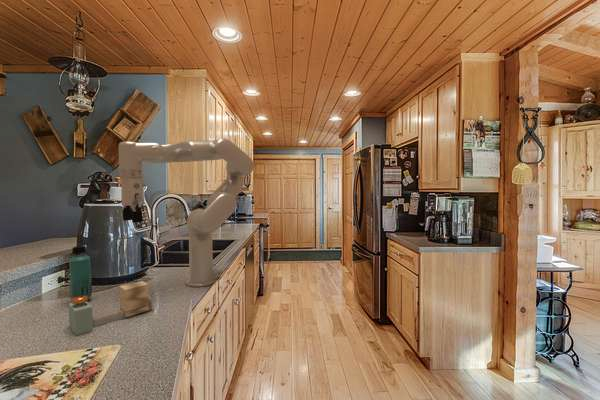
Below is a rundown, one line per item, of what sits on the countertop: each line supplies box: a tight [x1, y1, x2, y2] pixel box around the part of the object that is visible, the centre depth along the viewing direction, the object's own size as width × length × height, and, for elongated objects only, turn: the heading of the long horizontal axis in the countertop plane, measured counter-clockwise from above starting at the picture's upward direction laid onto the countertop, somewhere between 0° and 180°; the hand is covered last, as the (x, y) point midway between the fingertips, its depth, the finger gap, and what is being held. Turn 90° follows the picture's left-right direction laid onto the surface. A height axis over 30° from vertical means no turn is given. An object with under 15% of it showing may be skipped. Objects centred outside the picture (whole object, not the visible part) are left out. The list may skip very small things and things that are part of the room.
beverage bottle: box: [68, 245, 93, 301], centre depth 108 cm, size 6×7×20 cm
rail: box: [92, 298, 153, 328], centre depth 96 cm, size 16×4×3 cm, turn 138°
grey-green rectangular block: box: [68, 301, 94, 337], centre depth 88 cm, size 4×8×7 cm, turn 48°
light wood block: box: [118, 280, 150, 318], centre depth 98 cm, size 7×5×9 cm
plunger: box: [71, 295, 89, 308], centre depth 88 cm, size 4×4×6 cm
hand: (132, 221), depth 113 cm, fingers open, 9 cm apart
